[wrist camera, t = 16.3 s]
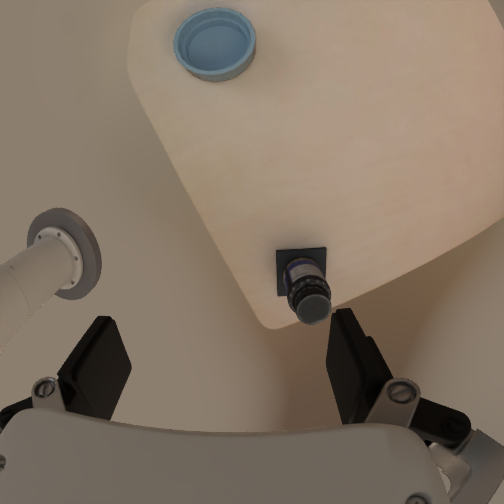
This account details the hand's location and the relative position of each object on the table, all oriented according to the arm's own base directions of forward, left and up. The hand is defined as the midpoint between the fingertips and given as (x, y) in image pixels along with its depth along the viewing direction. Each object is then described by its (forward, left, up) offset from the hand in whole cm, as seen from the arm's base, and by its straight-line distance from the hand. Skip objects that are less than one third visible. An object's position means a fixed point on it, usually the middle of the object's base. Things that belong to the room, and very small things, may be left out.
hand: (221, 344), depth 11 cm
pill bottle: (+8, -13, -32) cm, 36 cm away
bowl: (-2, +23, -33) cm, 40 cm away
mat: (+8, -13, -33) cm, 36 cm away
